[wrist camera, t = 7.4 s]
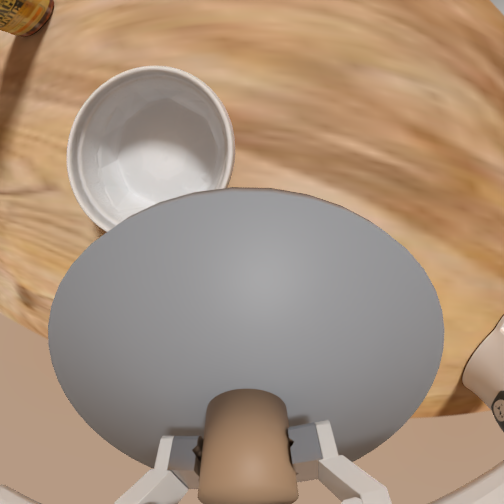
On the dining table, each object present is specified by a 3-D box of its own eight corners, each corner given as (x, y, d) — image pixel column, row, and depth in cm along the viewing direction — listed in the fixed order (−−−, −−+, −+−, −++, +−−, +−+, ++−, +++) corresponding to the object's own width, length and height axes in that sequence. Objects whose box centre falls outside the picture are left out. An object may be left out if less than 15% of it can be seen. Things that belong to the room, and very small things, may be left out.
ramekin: (83, 172, 25) (42, 182, 19) (155, 59, 22) (127, 36, 15) (184, 247, 28) (165, 277, 22) (269, 135, 24) (275, 131, 18)
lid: (448, 160, 8) (562, 191, 3) (399, 443, 14) (421, 501, 9) (5, 244, 9) (-77, 301, 4) (148, 473, 15) (136, 531, 10)
